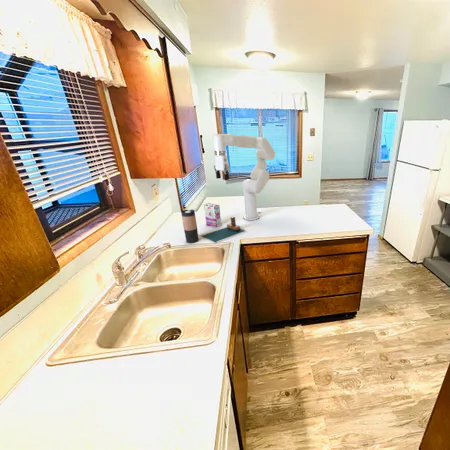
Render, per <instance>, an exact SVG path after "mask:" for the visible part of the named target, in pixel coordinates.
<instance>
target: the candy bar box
mask: <svg viewBox="0 0 450 450" xmlns="http://www.w3.org/2000/svg"><path fill="white" fill-rule="evenodd" d="M203 208H204V209H203V210H204V216H205V223H206V224H205V225H206V226H209V227H214V228H218V227H221V226H222V218H221V217H222V216H221V209H220V204H217V203H212V202H211V203H210V202H208V203H204V204H203Z"/></svg>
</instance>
